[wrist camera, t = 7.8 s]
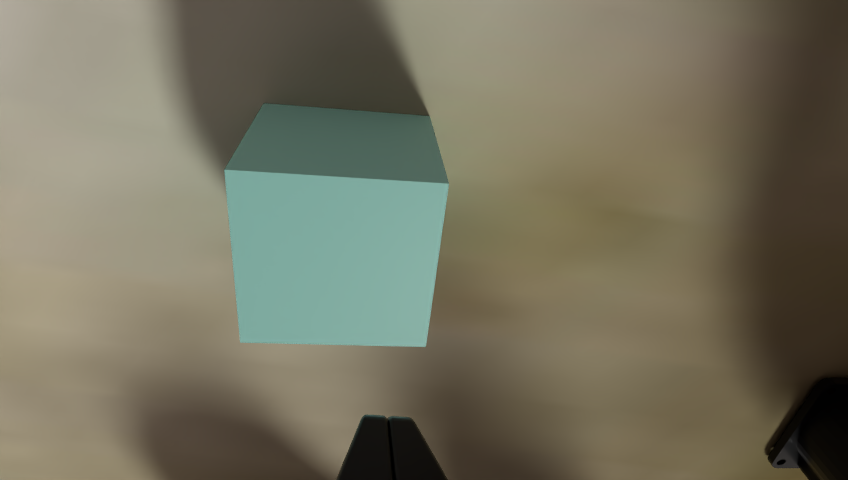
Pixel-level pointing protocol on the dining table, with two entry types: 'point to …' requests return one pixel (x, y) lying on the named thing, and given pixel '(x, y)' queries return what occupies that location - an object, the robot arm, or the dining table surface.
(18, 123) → the dining table surface
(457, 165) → the dining table surface
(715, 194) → the dining table surface
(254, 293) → the block
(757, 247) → the dining table surface
